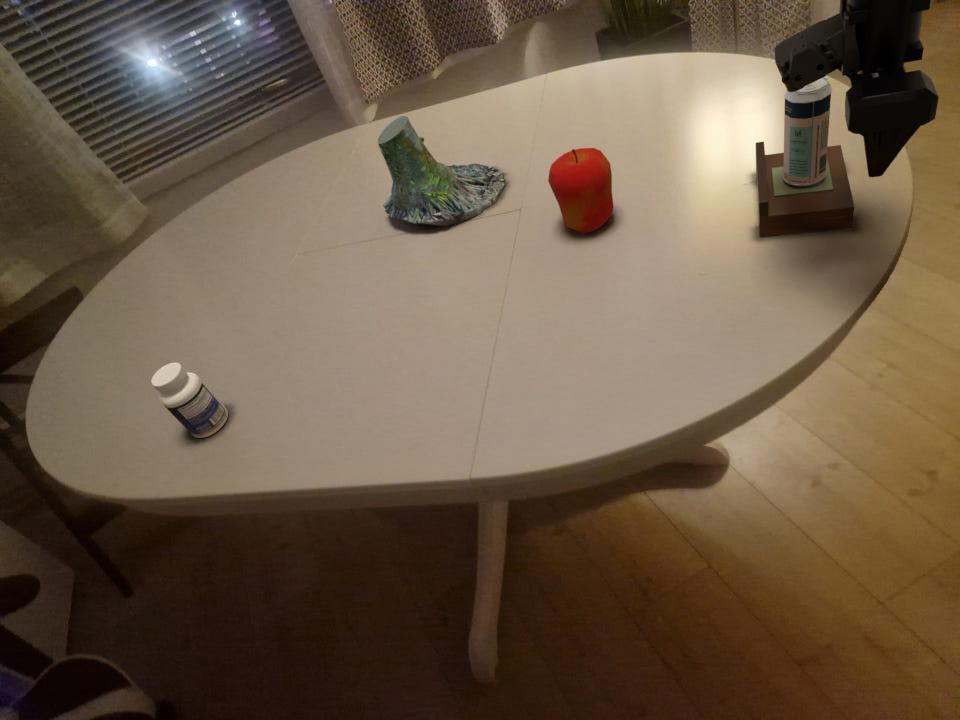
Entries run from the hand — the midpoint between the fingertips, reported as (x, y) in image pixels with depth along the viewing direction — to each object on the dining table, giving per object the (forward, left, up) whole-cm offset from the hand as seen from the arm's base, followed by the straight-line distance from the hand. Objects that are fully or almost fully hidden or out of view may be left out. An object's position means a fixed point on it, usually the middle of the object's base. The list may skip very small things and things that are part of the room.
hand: (869, 151), depth 64 cm
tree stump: (+58, -23, -13) cm, 64 cm away
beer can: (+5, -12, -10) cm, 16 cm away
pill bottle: (+78, +25, -13) cm, 83 cm away
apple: (+32, -12, -13) cm, 36 cm away
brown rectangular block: (+5, -12, -13) cm, 18 cm away
